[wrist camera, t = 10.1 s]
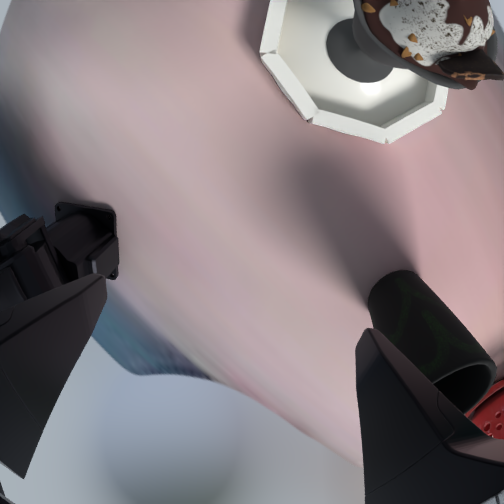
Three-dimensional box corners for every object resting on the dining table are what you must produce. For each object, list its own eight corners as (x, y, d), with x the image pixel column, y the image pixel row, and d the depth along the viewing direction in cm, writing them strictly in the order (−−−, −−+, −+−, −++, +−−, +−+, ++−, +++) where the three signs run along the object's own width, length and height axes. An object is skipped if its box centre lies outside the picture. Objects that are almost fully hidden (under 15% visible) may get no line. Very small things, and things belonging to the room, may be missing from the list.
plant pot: (445, 421, 35) (463, 478, 24) (496, 369, 29) (527, 428, 18) (483, 417, 36) (502, 463, 25) (528, 370, 30) (554, 417, 19)
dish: (248, 112, 18) (246, 112, 16) (280, -42, 12) (281, -54, 11) (420, 158, 19) (433, 163, 17) (444, 13, 13) (456, 8, 11)
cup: (339, 312, 25) (368, 429, 14) (392, 243, 22) (465, 347, 11) (396, 338, 26) (434, 437, 16) (446, 281, 23) (511, 372, 12)
